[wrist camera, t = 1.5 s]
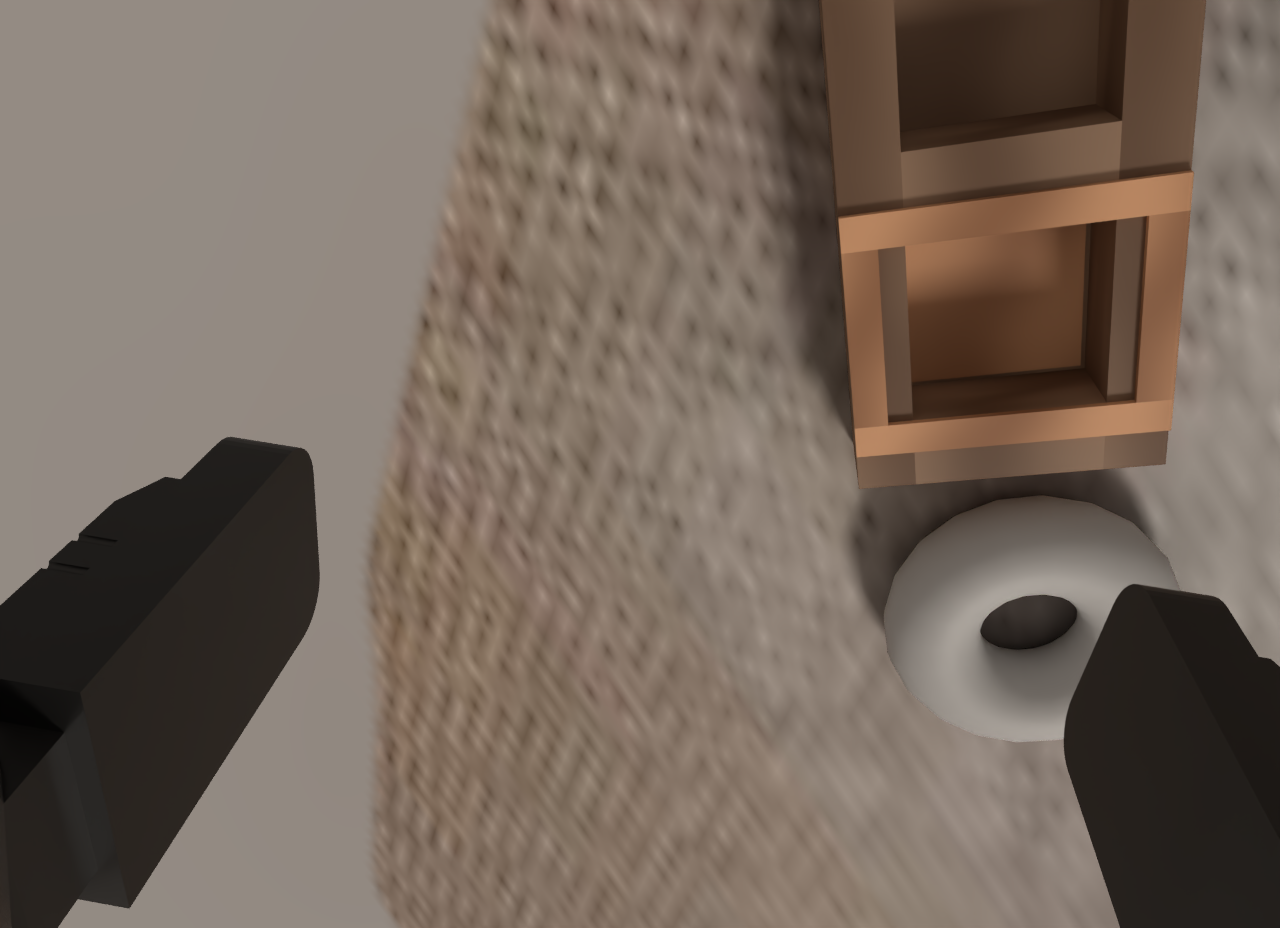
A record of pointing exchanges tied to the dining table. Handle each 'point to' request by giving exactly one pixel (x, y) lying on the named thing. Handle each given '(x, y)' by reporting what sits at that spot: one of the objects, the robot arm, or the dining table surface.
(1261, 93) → the dining table surface
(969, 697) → the donut
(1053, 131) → the wooden compartment tray
